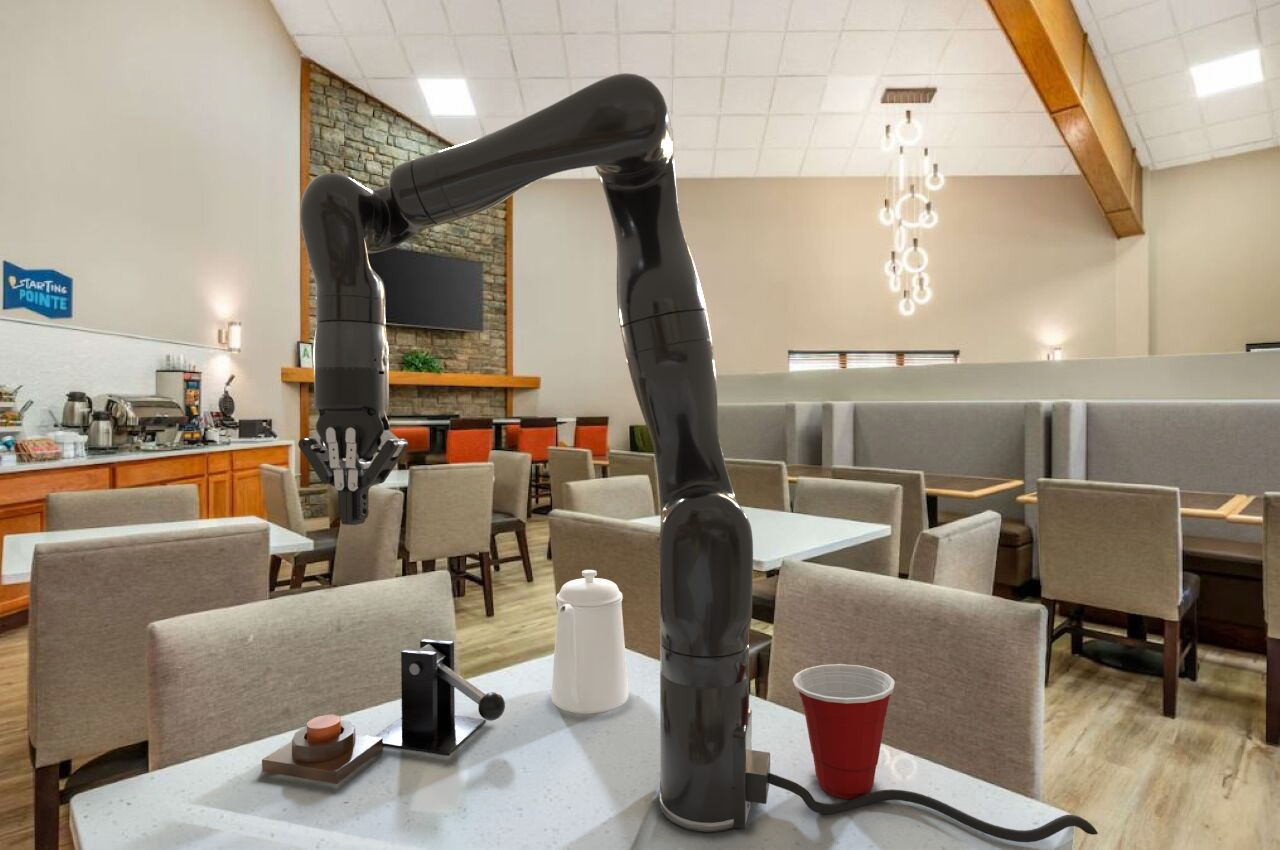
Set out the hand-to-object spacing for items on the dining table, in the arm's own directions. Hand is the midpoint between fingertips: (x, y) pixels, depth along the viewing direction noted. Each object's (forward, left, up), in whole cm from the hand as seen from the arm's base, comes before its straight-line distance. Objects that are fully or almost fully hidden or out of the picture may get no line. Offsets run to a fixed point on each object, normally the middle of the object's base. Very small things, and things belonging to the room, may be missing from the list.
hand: (353, 523), depth 74 cm
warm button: (+6, -2, -25) cm, 26 cm away
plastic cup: (-52, -14, -29) cm, 61 cm away
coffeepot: (-18, -26, -29) cm, 43 cm away
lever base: (-2, -11, -29) cm, 31 cm away
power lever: (-6, -11, -23) cm, 26 cm away
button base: (+6, -2, -29) cm, 30 cm away
